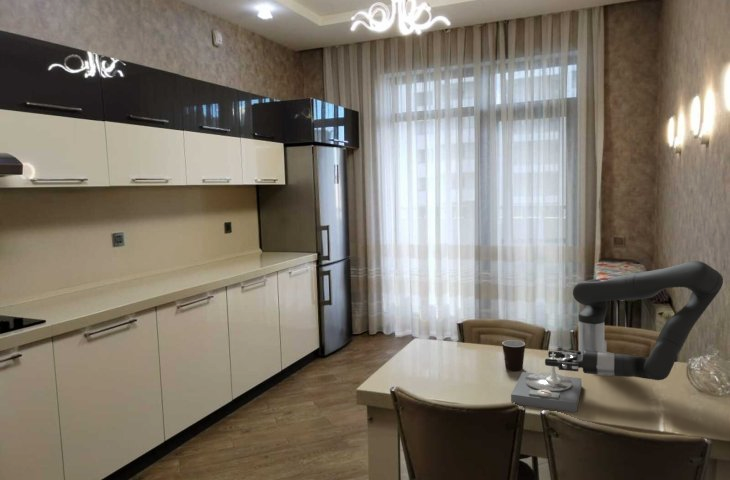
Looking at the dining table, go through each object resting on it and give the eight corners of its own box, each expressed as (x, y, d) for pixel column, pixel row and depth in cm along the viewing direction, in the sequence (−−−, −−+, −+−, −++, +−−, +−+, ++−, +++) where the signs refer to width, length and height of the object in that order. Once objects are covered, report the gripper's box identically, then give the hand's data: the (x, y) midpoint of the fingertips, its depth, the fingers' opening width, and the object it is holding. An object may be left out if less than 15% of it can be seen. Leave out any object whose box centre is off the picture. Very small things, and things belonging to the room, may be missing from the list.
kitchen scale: (522, 379, 189) (522, 368, 188) (581, 386, 180) (581, 375, 180) (511, 403, 169) (511, 391, 169) (576, 412, 160) (576, 399, 160)
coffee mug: (522, 373, 195) (521, 348, 194) (499, 370, 199) (499, 345, 198) (530, 364, 205) (529, 339, 204) (508, 361, 209) (508, 337, 208)
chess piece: (543, 379, 178) (542, 351, 177) (557, 378, 178) (556, 349, 177) (549, 384, 173) (549, 355, 172) (563, 383, 174) (563, 354, 172)
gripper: (599, 345, 175) (549, 341, 182) (598, 358, 162) (543, 353, 169) (599, 366, 175) (549, 361, 183) (598, 381, 163) (544, 375, 170)
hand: (546, 357), depth 176 cm, fingers open, 8 cm apart
